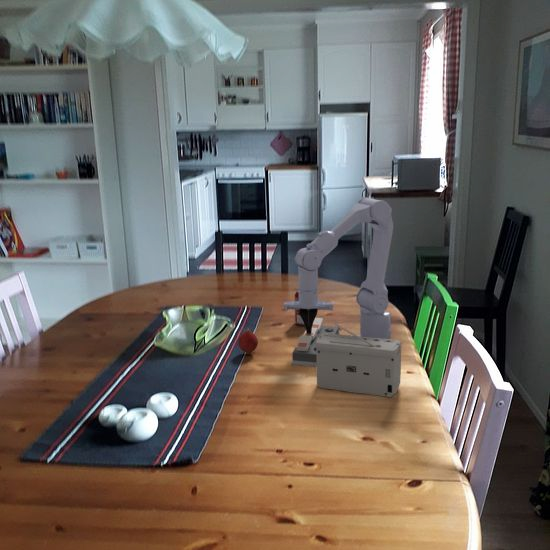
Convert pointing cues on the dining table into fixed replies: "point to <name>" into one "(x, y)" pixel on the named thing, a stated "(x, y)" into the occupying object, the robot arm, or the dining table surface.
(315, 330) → the rocker middle
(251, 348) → the onion
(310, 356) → the power strip
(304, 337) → the rocker
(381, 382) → the stereo radio cassette player
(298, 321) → the soda can
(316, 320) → the rocker
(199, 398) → the dining table surface
